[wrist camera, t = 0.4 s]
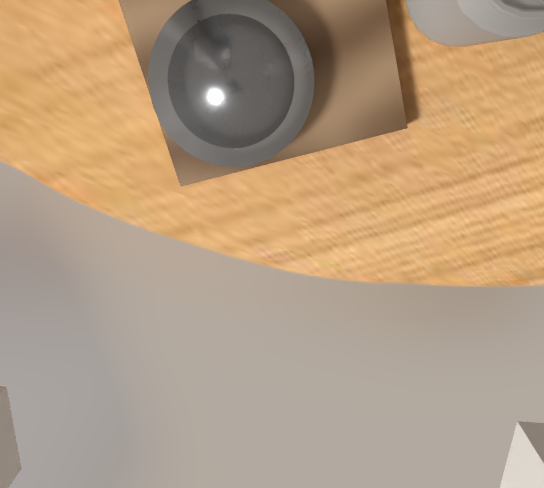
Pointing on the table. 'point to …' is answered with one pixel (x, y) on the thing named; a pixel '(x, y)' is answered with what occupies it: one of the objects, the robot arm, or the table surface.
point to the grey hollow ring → (231, 80)
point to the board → (327, 75)
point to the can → (476, 20)
